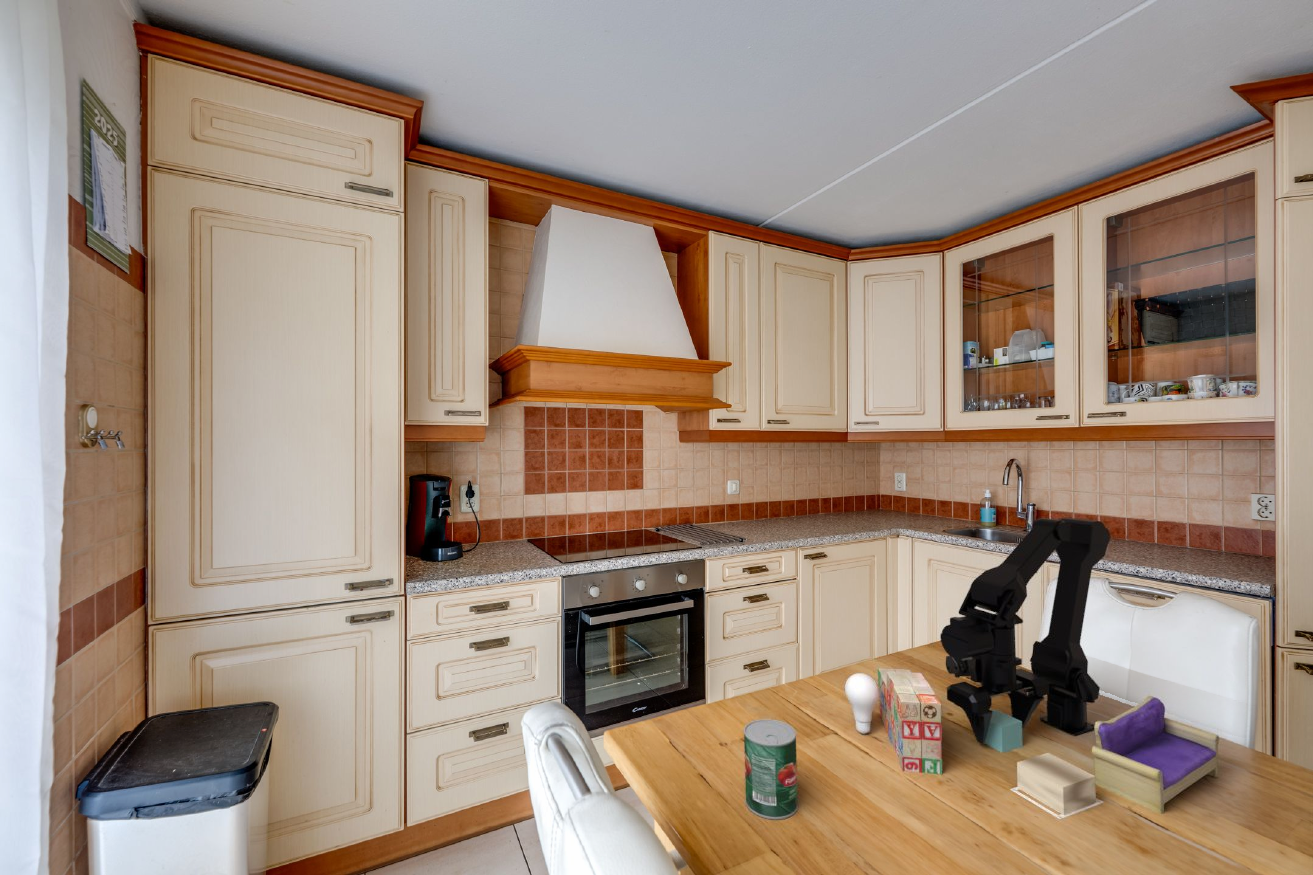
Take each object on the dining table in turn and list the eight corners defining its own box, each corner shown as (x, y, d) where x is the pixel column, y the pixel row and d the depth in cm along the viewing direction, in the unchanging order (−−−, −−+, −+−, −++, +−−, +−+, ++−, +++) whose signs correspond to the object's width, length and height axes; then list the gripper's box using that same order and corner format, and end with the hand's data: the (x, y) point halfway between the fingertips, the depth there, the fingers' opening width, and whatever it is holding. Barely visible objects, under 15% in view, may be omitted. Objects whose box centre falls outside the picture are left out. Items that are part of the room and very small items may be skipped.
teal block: (996, 736, 105) (995, 709, 105) (1022, 749, 100) (1021, 721, 100) (976, 742, 103) (976, 714, 103) (1002, 756, 98) (1001, 727, 98)
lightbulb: (845, 738, 105) (843, 678, 105) (847, 722, 111) (845, 666, 111) (880, 743, 103) (878, 683, 103) (880, 727, 109) (879, 670, 109)
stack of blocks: (878, 713, 115) (877, 652, 115) (912, 716, 113) (910, 654, 113) (902, 775, 94) (900, 700, 94) (943, 778, 92) (941, 702, 92)
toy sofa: (1160, 820, 81) (1158, 749, 81) (1091, 788, 89) (1089, 723, 89) (1222, 777, 91) (1220, 713, 91) (1155, 751, 99) (1153, 692, 99)
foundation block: (1048, 777, 91) (1047, 752, 91) (1095, 803, 84) (1095, 775, 84) (1017, 788, 88) (1016, 762, 88) (1063, 815, 82) (1063, 787, 82)
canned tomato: (742, 787, 91) (740, 718, 91) (792, 787, 91) (790, 718, 91) (749, 820, 83) (747, 744, 83) (803, 820, 83) (801, 744, 83)
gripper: (993, 629, 113) (995, 708, 113) (921, 643, 106) (923, 727, 106) (1049, 647, 102) (1052, 734, 102) (973, 664, 96) (976, 757, 95)
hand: (999, 737), depth 102 cm, fingers open, 9 cm apart
